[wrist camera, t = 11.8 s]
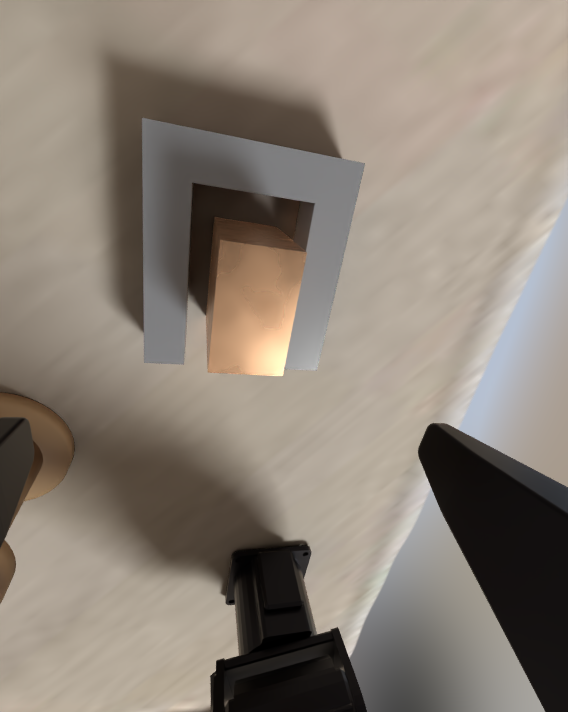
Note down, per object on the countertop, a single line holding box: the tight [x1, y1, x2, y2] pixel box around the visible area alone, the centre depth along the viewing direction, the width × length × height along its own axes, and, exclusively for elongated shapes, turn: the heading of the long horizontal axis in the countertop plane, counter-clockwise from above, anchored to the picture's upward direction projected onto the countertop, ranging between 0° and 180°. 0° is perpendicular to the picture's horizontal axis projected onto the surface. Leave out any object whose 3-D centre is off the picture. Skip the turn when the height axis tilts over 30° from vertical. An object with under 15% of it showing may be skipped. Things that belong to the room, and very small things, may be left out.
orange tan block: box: [206, 217, 307, 376], centre depth 16 cm, size 5×3×6 cm, turn 170°
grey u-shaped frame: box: [142, 118, 365, 371], centre depth 17 cm, size 10×9×2 cm
